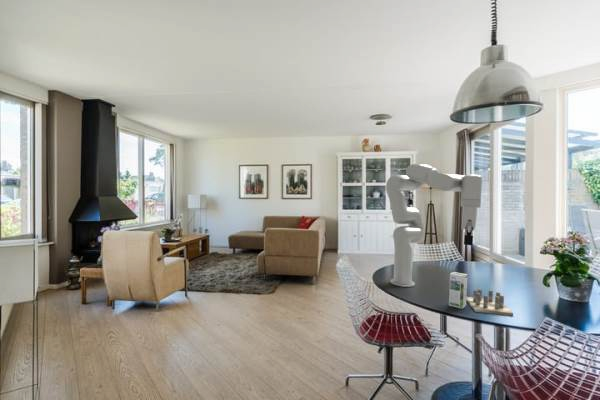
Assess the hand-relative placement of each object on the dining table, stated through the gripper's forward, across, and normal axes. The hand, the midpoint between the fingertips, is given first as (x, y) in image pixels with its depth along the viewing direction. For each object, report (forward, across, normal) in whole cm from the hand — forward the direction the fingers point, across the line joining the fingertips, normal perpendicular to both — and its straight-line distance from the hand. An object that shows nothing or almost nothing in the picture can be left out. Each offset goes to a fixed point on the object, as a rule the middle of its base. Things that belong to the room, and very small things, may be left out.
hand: (468, 243), depth 131 cm
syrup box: (+29, -2, -3) cm, 29 cm away
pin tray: (+29, -8, +9) cm, 31 cm away
